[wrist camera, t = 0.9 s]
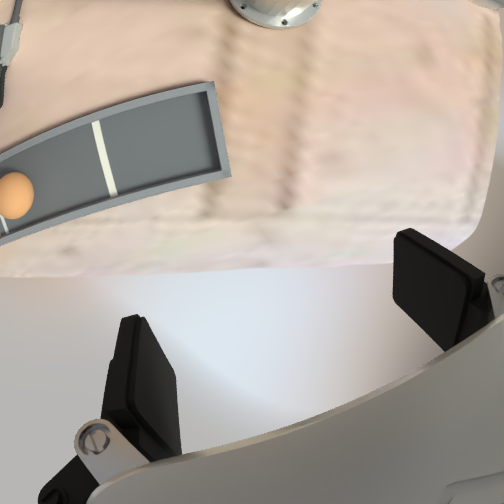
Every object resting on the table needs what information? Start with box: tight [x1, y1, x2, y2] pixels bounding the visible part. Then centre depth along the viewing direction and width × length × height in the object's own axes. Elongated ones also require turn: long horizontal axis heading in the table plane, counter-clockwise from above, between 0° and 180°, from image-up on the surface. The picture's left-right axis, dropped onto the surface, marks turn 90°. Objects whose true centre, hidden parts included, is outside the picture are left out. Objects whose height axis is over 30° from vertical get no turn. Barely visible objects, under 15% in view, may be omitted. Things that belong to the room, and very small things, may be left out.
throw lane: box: [0, 81, 232, 246], centre depth 33 cm, size 12×35×2 cm, turn 100°
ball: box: [0, 172, 34, 219], centre depth 29 cm, size 6×6×6 cm
